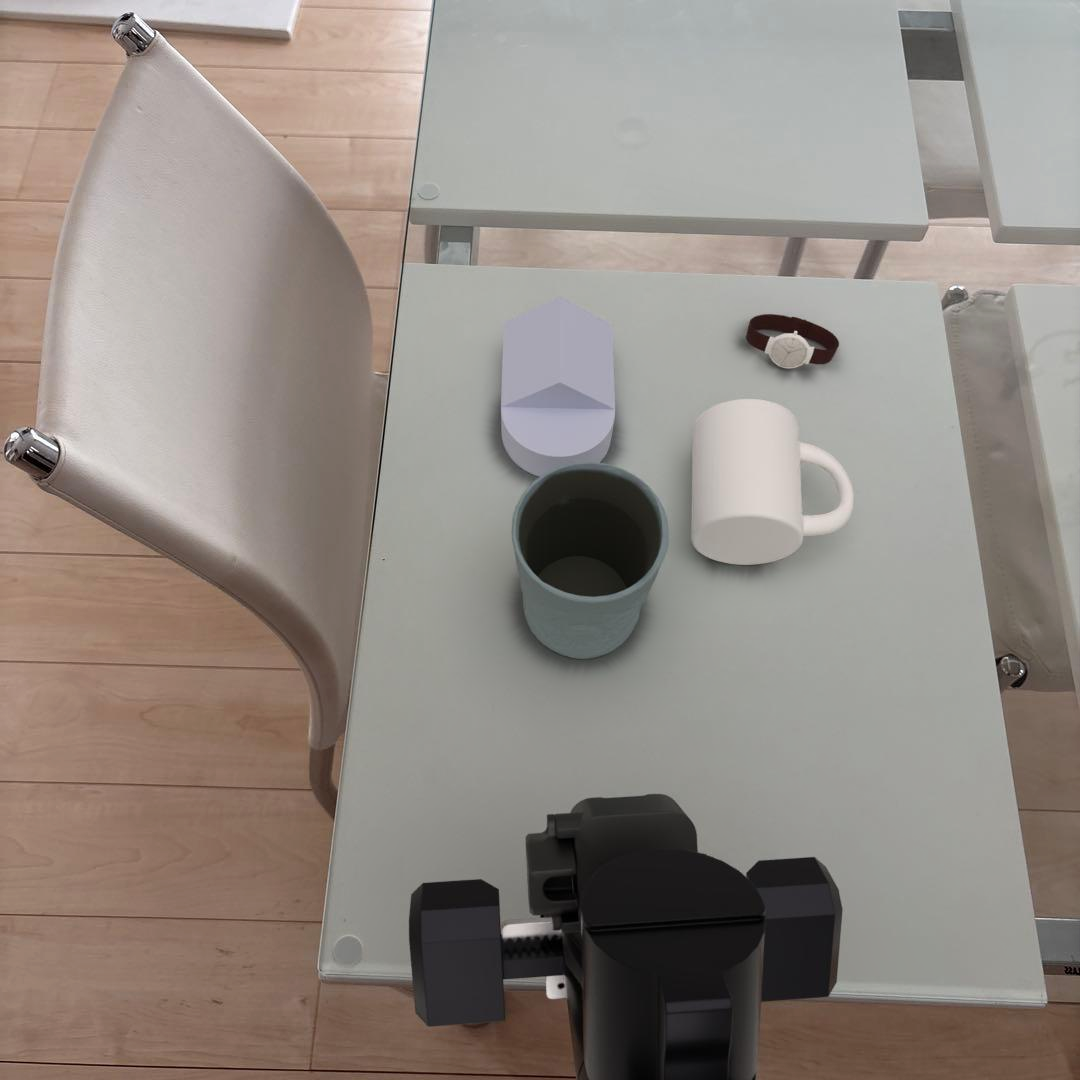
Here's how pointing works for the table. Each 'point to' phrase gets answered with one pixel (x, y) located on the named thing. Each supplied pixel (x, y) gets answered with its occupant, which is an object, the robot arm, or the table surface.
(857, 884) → the table surface
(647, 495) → the teal cup
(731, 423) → the mug
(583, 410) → the wedge on round base
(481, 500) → the table surface
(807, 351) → the watch
